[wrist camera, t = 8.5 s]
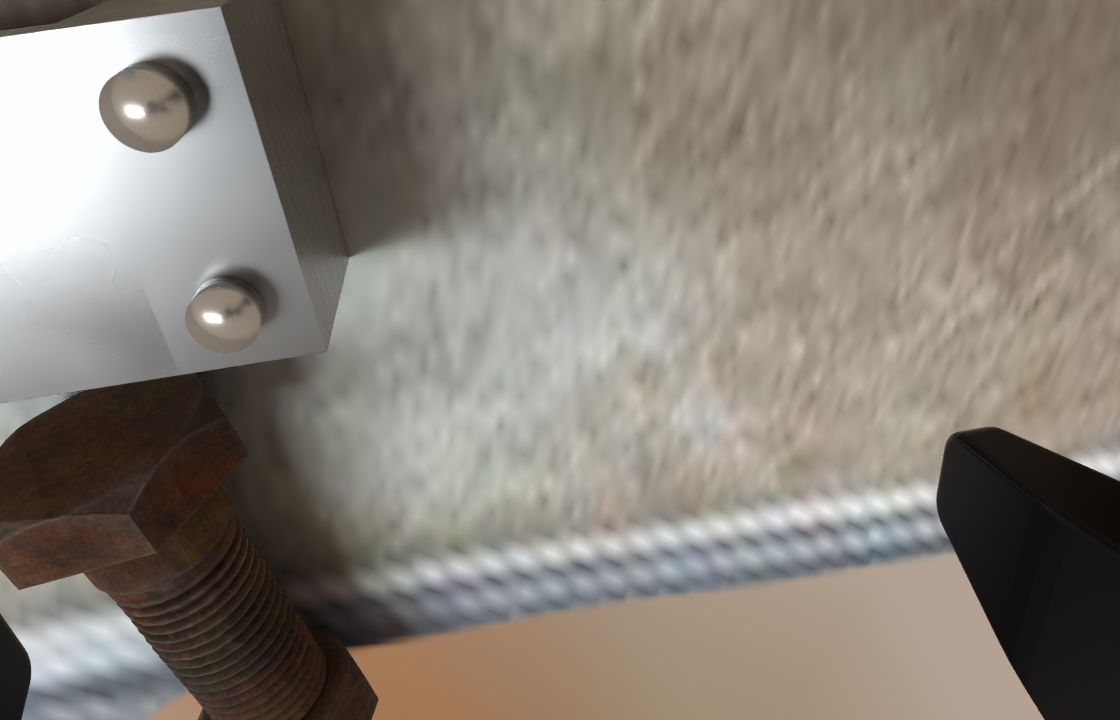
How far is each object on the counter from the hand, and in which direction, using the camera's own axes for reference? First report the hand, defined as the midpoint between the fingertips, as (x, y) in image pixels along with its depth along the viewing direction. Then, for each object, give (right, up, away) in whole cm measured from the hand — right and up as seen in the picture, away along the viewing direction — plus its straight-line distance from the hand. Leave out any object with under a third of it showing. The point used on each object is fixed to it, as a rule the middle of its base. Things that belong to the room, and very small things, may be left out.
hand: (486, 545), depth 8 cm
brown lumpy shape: (-8, -5, +16) cm, 19 cm away
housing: (-9, +6, +9) cm, 14 cm away
